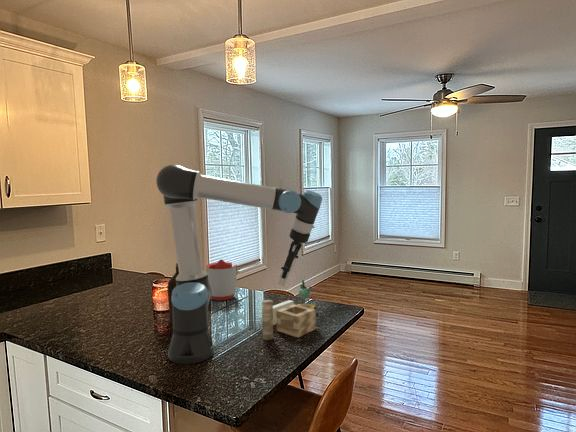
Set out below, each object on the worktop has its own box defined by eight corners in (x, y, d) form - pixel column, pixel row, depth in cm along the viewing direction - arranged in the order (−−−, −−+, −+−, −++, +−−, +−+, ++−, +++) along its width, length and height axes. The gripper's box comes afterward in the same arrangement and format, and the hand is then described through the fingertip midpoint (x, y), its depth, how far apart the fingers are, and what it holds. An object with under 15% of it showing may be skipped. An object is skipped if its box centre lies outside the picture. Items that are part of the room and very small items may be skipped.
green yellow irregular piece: (281, 312, 175) (283, 279, 175) (306, 307, 188) (308, 276, 188) (297, 316, 168) (299, 282, 168) (322, 311, 182) (324, 279, 182)
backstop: (268, 327, 156) (268, 310, 156) (264, 325, 158) (263, 308, 157) (294, 316, 168) (293, 301, 168) (289, 315, 170) (289, 300, 169)
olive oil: (190, 326, 158) (189, 265, 156) (165, 326, 158) (163, 266, 156) (197, 317, 169) (195, 260, 167) (173, 317, 169) (171, 261, 167)
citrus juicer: (245, 298, 196) (245, 259, 195) (214, 304, 187) (213, 263, 185) (232, 291, 209) (231, 254, 208) (201, 296, 200) (200, 258, 198)
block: (297, 337, 145) (297, 316, 145) (276, 330, 153) (276, 310, 152) (315, 329, 154) (315, 309, 153) (294, 322, 161) (294, 304, 160)
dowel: (267, 340, 142) (267, 303, 141) (260, 338, 145) (259, 301, 144) (275, 337, 145) (274, 301, 144) (267, 334, 148) (267, 299, 147)
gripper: (305, 243, 137) (287, 294, 143) (314, 225, 161) (298, 269, 167) (285, 235, 138) (268, 286, 144) (297, 219, 161) (282, 263, 167)
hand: (284, 277), depth 155 cm, fingers open, 13 cm apart
